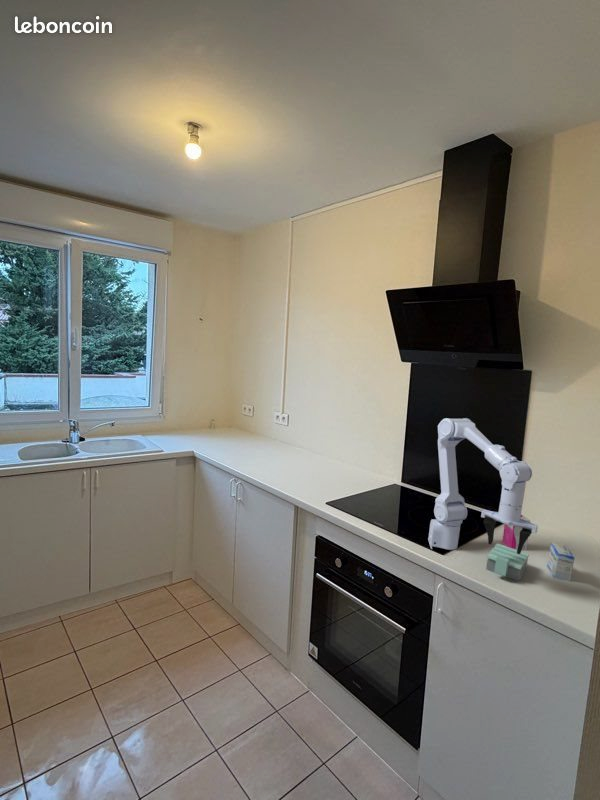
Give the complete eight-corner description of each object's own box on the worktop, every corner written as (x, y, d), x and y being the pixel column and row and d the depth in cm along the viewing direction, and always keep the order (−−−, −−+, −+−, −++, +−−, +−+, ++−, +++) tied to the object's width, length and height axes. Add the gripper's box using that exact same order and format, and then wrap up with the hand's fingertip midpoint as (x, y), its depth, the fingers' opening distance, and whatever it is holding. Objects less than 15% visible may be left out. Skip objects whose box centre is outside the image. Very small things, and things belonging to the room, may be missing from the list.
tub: (485, 571, 126) (487, 558, 126) (495, 559, 135) (497, 546, 134) (518, 584, 121) (520, 569, 120) (525, 570, 129) (528, 557, 129)
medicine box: (546, 567, 132) (550, 542, 131) (562, 571, 131) (566, 545, 130) (553, 580, 125) (558, 553, 123) (570, 584, 123) (575, 556, 122)
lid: (483, 567, 123) (485, 553, 123) (496, 551, 135) (498, 538, 134) (517, 580, 118) (519, 566, 117) (527, 562, 129) (529, 549, 128)
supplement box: (516, 544, 147) (521, 513, 146) (526, 552, 141) (531, 520, 140) (501, 543, 147) (505, 512, 146) (510, 551, 141) (514, 519, 140)
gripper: (480, 499, 120) (474, 543, 122) (536, 514, 111) (529, 562, 113) (487, 493, 126) (481, 536, 127) (541, 508, 117) (534, 553, 118)
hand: (504, 547), depth 120 cm, fingers open, 7 cm apart
